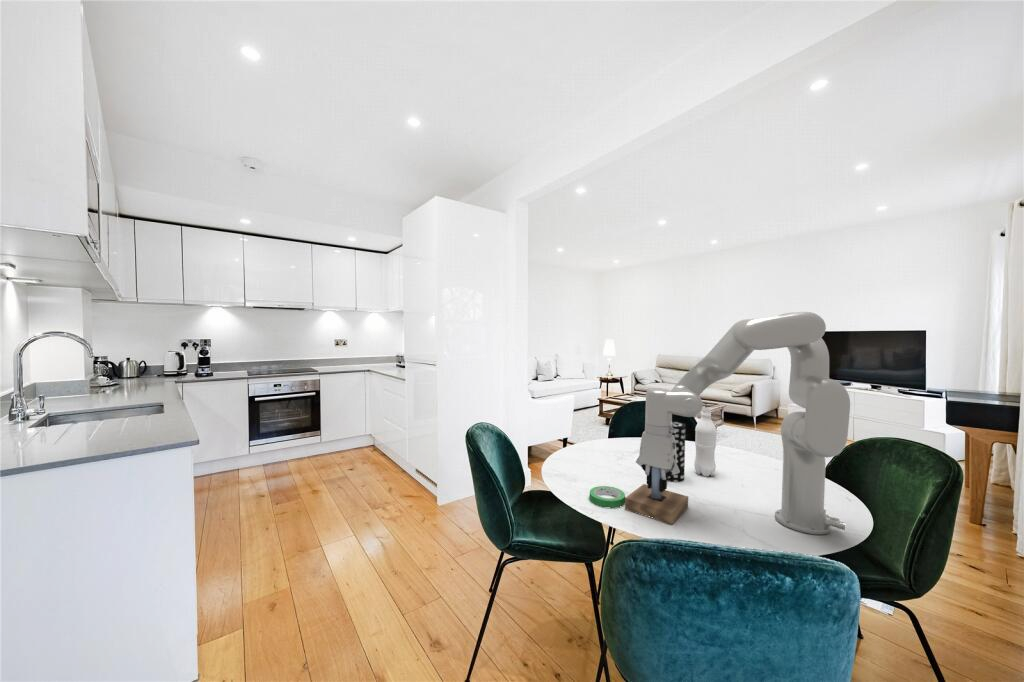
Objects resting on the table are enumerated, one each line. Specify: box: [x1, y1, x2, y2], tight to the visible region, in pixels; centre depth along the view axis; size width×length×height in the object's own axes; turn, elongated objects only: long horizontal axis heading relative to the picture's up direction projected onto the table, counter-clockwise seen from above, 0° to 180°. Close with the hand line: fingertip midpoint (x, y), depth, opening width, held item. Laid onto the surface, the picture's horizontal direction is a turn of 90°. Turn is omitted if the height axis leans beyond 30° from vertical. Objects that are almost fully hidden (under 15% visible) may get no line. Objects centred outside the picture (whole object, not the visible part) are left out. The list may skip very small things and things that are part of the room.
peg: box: [651, 467, 662, 499], centre depth 116 cm, size 3×3×10 cm
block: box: [624, 483, 689, 526], centre depth 116 cm, size 14×14×4 cm
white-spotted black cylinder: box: [667, 420, 686, 483], centre depth 140 cm, size 8×8×20 cm
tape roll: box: [589, 485, 626, 509], centre depth 122 cm, size 11×11×3 cm
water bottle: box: [693, 407, 717, 477], centre depth 144 cm, size 7×7×25 cm
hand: (656, 488), depth 116 cm, fingers closed on peg, 3 cm apart
